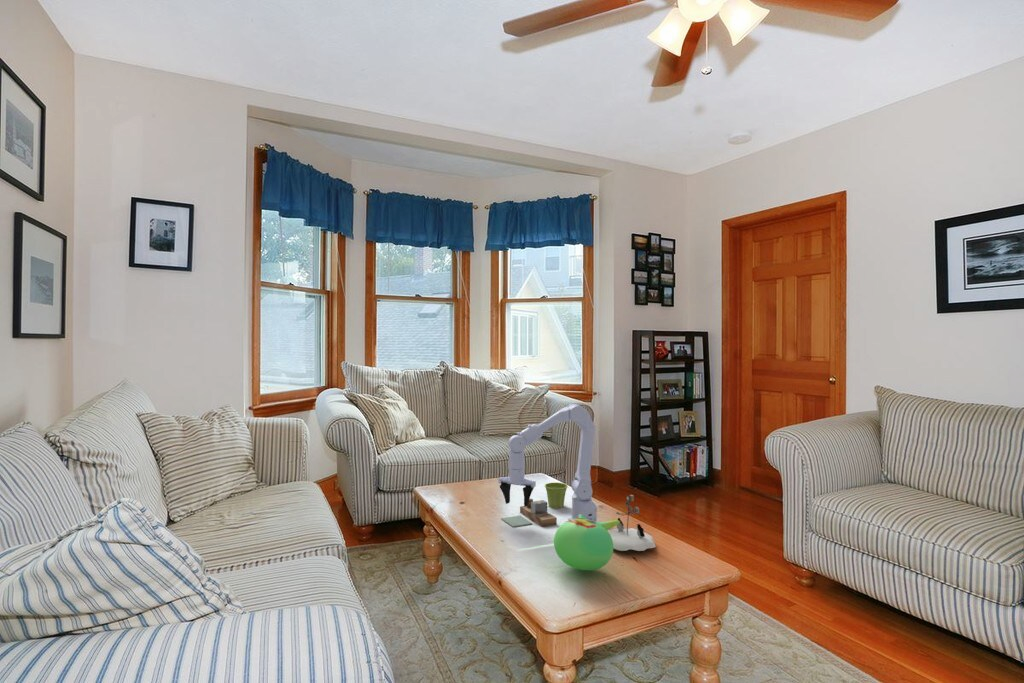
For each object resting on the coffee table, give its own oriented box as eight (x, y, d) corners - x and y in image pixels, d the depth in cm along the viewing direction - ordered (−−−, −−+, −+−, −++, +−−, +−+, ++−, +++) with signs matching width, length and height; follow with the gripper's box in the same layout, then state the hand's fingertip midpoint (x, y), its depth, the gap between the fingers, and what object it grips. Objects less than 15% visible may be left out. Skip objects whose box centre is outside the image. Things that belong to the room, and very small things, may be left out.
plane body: (556, 524, 196) (556, 509, 196) (542, 526, 193) (542, 511, 193) (533, 510, 212) (533, 496, 212) (520, 512, 209) (520, 498, 209)
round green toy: (543, 565, 159) (543, 516, 159) (578, 550, 171) (578, 504, 171) (591, 585, 146) (591, 531, 146) (626, 567, 158) (626, 517, 158)
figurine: (587, 536, 184) (587, 489, 185) (632, 530, 191) (632, 484, 191) (618, 557, 166) (618, 505, 166) (667, 550, 172) (667, 499, 172)
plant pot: (568, 510, 213) (568, 488, 213) (545, 510, 213) (545, 488, 213) (566, 503, 222) (566, 482, 222) (544, 503, 222) (544, 482, 222)
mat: (532, 524, 196) (532, 523, 196) (512, 527, 192) (512, 526, 192) (520, 516, 205) (520, 515, 205) (501, 519, 201) (501, 518, 201)
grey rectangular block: (547, 512, 202) (547, 502, 202) (535, 514, 199) (535, 504, 199) (542, 510, 204) (542, 499, 204) (530, 512, 202) (530, 501, 202)
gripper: (538, 467, 199) (538, 503, 199) (504, 463, 206) (504, 499, 205) (531, 471, 193) (531, 509, 193) (495, 467, 199) (495, 504, 199)
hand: (516, 504), depth 199 cm, fingers open, 7 cm apart
